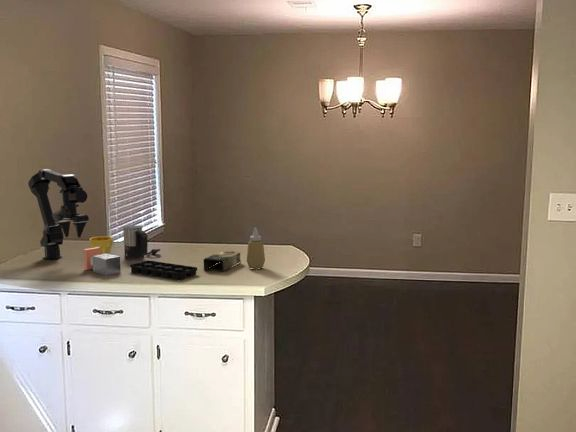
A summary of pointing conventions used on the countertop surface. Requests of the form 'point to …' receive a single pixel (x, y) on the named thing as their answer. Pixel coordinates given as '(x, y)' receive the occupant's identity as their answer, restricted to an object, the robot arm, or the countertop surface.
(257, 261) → the squeeze bottle
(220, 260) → the juice carton
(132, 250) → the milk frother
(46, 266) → the countertop surface
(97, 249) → the pink block
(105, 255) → the housing
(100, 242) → the plant pot
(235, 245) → the countertop surface
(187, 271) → the egg carton
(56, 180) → the robot arm
